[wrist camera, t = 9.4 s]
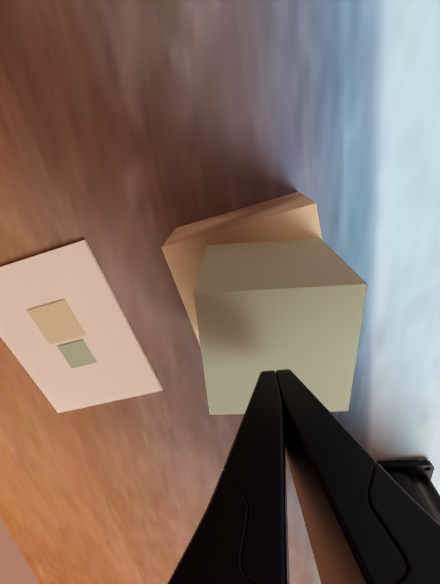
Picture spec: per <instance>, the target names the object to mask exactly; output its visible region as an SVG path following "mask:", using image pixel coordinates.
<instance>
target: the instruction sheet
mask: <svg viewBox="0 0 440 584" xmlns="http://www.w3.org/2000/svg"><path fill="white" fill-rule="evenodd" d="M0 337H1V338H2V340H3V341H4V342H5V344H6V345H7V346H8V347H9V349H10V350H11V351H12V353H13V354H14V355H15V357H16V358H17V359H18V361H19V362H20V363H21V365H22V366H23V367H24V369H25V370H26V371H27V373H28V374H29V375H30V377H31V378H32V379H33V381H34V382H35V383H36V385H37V386H38V387H39V388H40V390H41V391H42V392H43V394H44V395H45V396H46V398H47V399H48V400H49V402H50V403H51V404H52V406H53V407H54V408H55V410H56V411H57V412H58V413H61V412H66V411H70V410H75V409H80V408H84V407H89V406H94V405H98V404H103V403H107V402H112V401H117V400H121V399H126V398H131V397H135V396H140V395H144V394H149V393H154V392H158V391H162V390H163V388H162V386H161V384H160V382H159V380H158V378H157V376H156V374H155V372H154V370H153V368H152V367H151V365H150V363H149V361H148V359H147V357H146V355H145V353H144V351H143V349H142V347H141V345H140V343H139V342H138V340H137V338H136V336H135V334H134V332H133V330H132V328H131V326H130V324H129V322H128V320H127V318H126V316H125V315H124V313H123V311H122V309H121V307H120V305H119V303H118V301H117V299H116V297H115V295H114V293H113V291H112V289H111V288H110V286H109V284H108V282H107V280H106V278H105V276H104V274H103V272H102V270H101V268H100V266H99V264H98V262H97V261H96V259H95V257H94V255H93V253H92V251H91V249H90V247H89V245H88V243H87V241H86V239H85V240H82V241H79V242H76V243H72V244H69V245H66V246H63V247H60V248H57V249H54V250H51V251H48V252H44V253H41V254H38V255H35V256H32V257H29V258H26V259H23V260H19V261H16V262H13V263H10V264H7V265H4V266H1V267H0Z"/></svg>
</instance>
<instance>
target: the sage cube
mask: <svg viewBox="0 0 440 584" xmlns="http://www.w3.org/2000/svg"><path fill="white" fill-rule="evenodd" d="M366 290H367V283H366V282H365V281H364V280H363V279H362V278H361V277H360V276H359V275H358V274H357V273H356V272H355V271H354V270H353V269H352V268H351V267H350V266H348V265H347V264H346V263H345V262H344V261H343V260H342V259H341V258H340V257H339V256H338V255H337V254H336V253H335V252H334V251H333V250H332V249H331V248H330V247H329V246H328V245H327V244H326V243H325V242H324V241H323V240H322V239H321V238H306V239H291V240H276V241H262V242H247V243H232V244H217V245H207V246H206V250H205V254H204V257H203V261H202V264H201V268H200V272H199V275H198V279H197V283H196V286H195V290H194V301H195V309H196V316H197V324H198V331H199V339H200V346H201V354H202V361H203V369H204V377H205V384H206V392H207V399H208V407H209V414H210V415H224V414H245V411H246V409H247V406H248V403H249V401H250V398H251V396H252V393H253V391H254V388H255V385H256V383H257V380H258V378H259V375H260V373H261V372H262V371H269V370H274V371H275V372H276V371H277V370H283V369H290V370H291V371H292V372H293V373H294V374H295V375H296V376H297V377H298V378H299V379H300V380H301V381H302V383H303V384H304V385H305V386H306V387H307V388H308V389H309V390H310V391H311V392H312V393H313V394H314V395H315V396H316V397H317V399H318V400H319V401H320V402H321V403H322V404H323V405H324V406H325V407H326V408H327V409H328V410H329V411H330V412H335V411H348V409H349V403H350V396H351V389H352V383H353V376H354V370H355V363H356V356H357V350H358V343H359V336H360V330H361V323H362V316H363V310H364V303H365V296H366Z"/></svg>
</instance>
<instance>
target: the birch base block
mask: <svg viewBox="0 0 440 584" xmlns="http://www.w3.org/2000/svg"><path fill="white" fill-rule="evenodd" d="M306 238H321V239H322V237H321V231H320V224H319V217H318V211H317V204H316V203H315V202H314V201H312V200H311V199H309V198H307V197H306V196H304V195H303V194H301V193H299V192H295V193H292V194H288V195H285V196H282V197H278V198H275V199H272V200H268V201H265V202H262V203H258V204H255V205H251V206H248V207H245V208H241V209H238V210H235V211H231V212H228V213H225V214H221V215H218V216H214V217H211V218H208V219H204V220H201V221H198V222H194V223H191V224H188V225H184V226H181V227H177V228H175V229H174V231H173V232H172V234H171V235H170V236H169V238H168V239H167V240H166V242H165V243H164V245H163V246H162V247H161V249H162V251H163V254H164V256H165V259H166V261H167V264H168V266H169V269H170V271H171V274H172V276H173V279H174V281H175V284H176V286H177V289H178V291H179V294H180V296H181V299H182V301H183V304H184V306H185V309H186V311H187V314H188V316H189V319H190V321H191V324H192V326H193V329H194V331H195V334H196V336H197V339H198V341H199V344H200V339H199V331H198V324H197V316H196V309H195V301H194V290H195V286H196V283H197V279H198V275H199V272H200V268H201V264H202V261H203V257H204V254H205V250H206V246H207V245H217V244H232V243H247V242H262V241H276V240H291V239H306Z"/></svg>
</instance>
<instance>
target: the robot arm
mask: <svg viewBox="0 0 440 584" xmlns="http://www.w3.org/2000/svg"><path fill="white" fill-rule="evenodd" d="M285 450H286V455H287V459H288V462H289V466H290V470H291V473H292V477H293V481H294V484H295V488H296V492H297V495H298V499H299V503H300V506H301V510H302V514H303V517H304V521H305V525H306V528H307V532H308V536H309V539H310V543H311V547H312V550H313V554H314V558H315V561H316V565H317V569H318V572H319V576H320V580H321V583H322V584H440V495H439V493H438V492H437V490H436V489H435V487H434V485H433V484H432V482H431V477H432V473H433V470H434V467H433V465H432V464H431V462H430V461H427V460H424V461H403V462H381V463H376V460H375V459H374V458H373V457H372V456H371V455H370V454H369V453H368V452H367V451H366V450H365V449H364V447H363V446H362V445H361V444H360V443H359V442H358V441H357V440H356V439H355V438H354V437H353V436H352V435H351V434H350V433H349V432H348V430H347V429H346V428H345V427H344V426H343V425H342V424H341V423H340V422H339V421H338V420H337V419H336V418H335V417H334V416H333V414H332V413H331V412H330V411H329V410H328V409H327V408H326V407H325V406H324V405H323V404H322V403H321V402H320V401H319V400H318V399H317V397H316V396H315V395H314V394H313V393H312V392H311V391H310V390H309V389H308V388H307V387H306V386H305V385H304V384H303V383H302V381H301V380H300V379H299V378H298V377H297V376H296V375H295V374H294V373H293V372H292V371H291V370H290V369H283V370H277V371H276V372H275V371H274V370H269V371H262V372H261V373H260V375H259V378H258V380H257V383H256V385H255V388H254V391H253V393H252V396H251V398H250V401H249V403H248V406H247V409H246V411H245V414H244V416H243V419H242V421H241V424H240V427H239V429H238V432H237V434H236V437H235V440H234V442H233V445H232V447H231V450H230V452H229V455H228V458H227V460H226V463H225V465H224V468H223V470H224V471H222V473H221V475H220V478H219V480H218V483H217V486H216V488H215V490H214V493H213V495H212V497H211V500H210V502H209V504H208V507H207V509H206V511H205V513H204V515H203V517H202V519H201V521H200V523H199V525H198V527H197V529H196V531H195V533H194V535H193V537H192V539H191V541H190V542H189V544H188V546H187V548H186V550H185V552H184V554H183V556H182V558H181V559H180V561H179V563H178V565H177V567H176V569H175V571H174V573H173V574H172V576H171V578H170V580H169V582H168V584H290V581H289V551H288V521H287V491H286V462H285Z"/></svg>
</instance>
